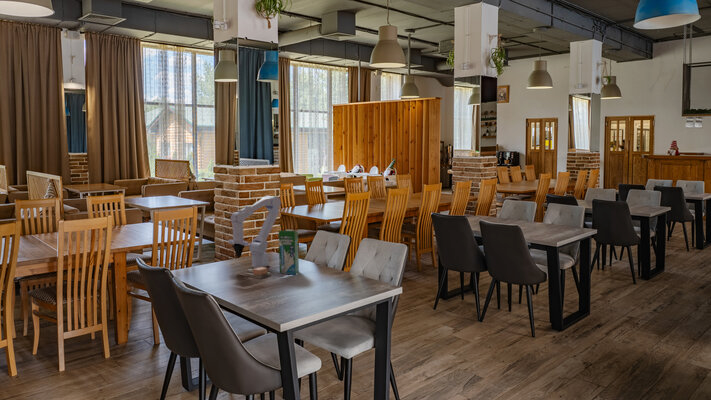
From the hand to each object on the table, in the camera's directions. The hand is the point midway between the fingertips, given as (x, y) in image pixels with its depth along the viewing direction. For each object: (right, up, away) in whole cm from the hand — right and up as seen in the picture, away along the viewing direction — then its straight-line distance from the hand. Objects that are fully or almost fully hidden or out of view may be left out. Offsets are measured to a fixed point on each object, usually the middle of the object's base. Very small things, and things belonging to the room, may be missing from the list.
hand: (239, 257), depth 305 cm
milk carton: (+29, -9, -2) cm, 30 cm away
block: (+14, -9, -12) cm, 21 cm away
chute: (+10, -10, -9) cm, 17 cm away
